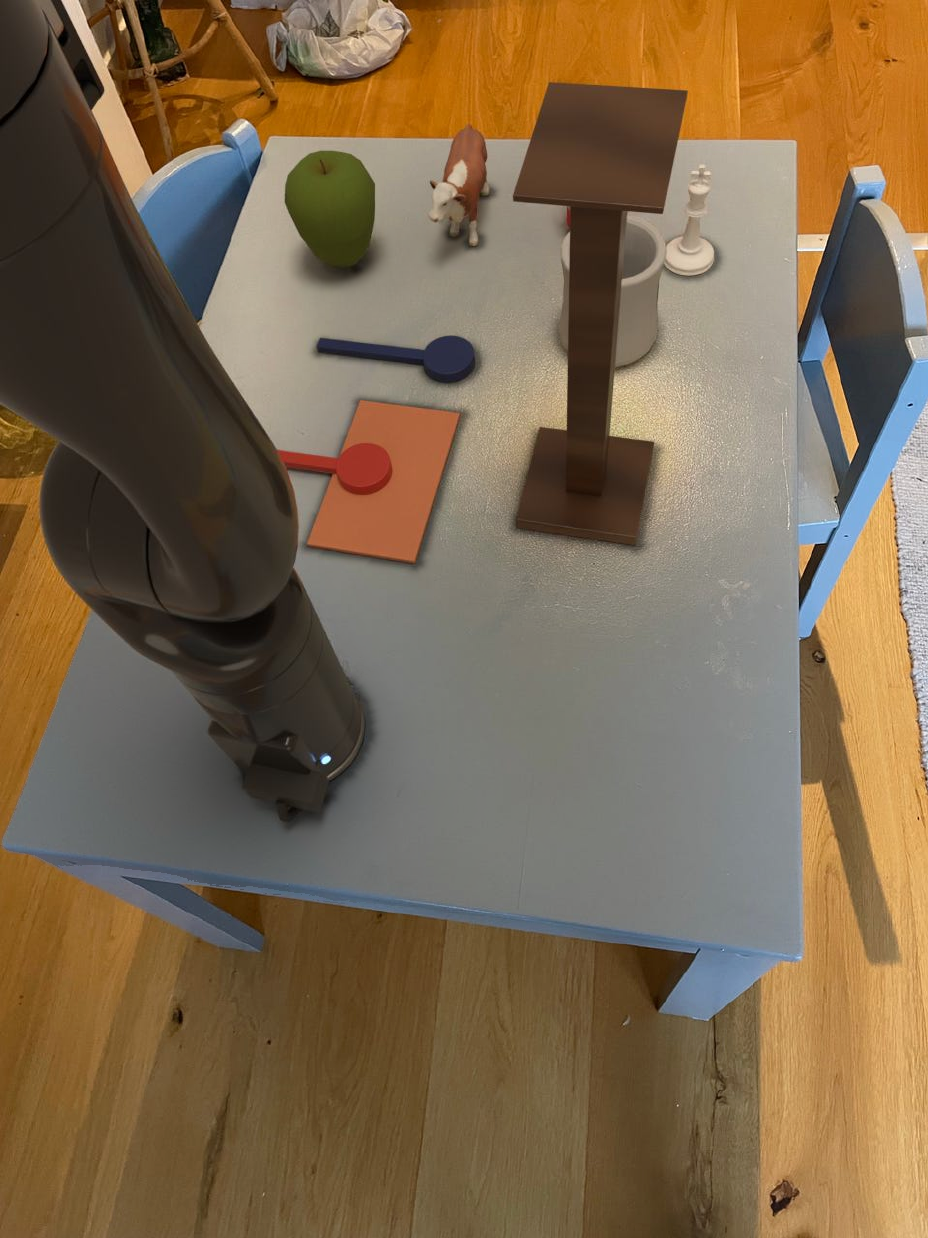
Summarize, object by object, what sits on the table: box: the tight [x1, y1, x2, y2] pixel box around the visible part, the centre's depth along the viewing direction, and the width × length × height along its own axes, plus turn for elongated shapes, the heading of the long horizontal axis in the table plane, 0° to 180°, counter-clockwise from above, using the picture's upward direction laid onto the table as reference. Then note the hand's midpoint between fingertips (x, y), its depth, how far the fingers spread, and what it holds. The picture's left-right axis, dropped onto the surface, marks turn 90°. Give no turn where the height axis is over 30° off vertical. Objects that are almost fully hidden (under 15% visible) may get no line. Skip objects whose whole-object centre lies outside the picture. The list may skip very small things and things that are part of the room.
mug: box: [558, 214, 667, 368], centre depth 84 cm, size 12×9×10 cm
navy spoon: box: [316, 335, 476, 384], centre depth 88 cm, size 5×15×1 cm, turn 76°
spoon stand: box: [512, 81, 689, 546], centre depth 65 cm, size 10×10×32 cm
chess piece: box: [664, 164, 715, 277], centre depth 87 cm, size 5×5×10 cm
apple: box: [284, 150, 376, 269], centre depth 90 cm, size 9×8×12 cm
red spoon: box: [277, 443, 392, 495], centre depth 82 cm, size 5×15×1 cm, turn 77°
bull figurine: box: [428, 124, 490, 247], centre depth 93 cm, size 4×13×8 cm, turn 166°
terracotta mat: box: [306, 399, 461, 564], centre depth 81 cm, size 16×10×1 cm, turn 166°
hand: (27, 170), depth 57 cm, fingers open, 8 cm apart
